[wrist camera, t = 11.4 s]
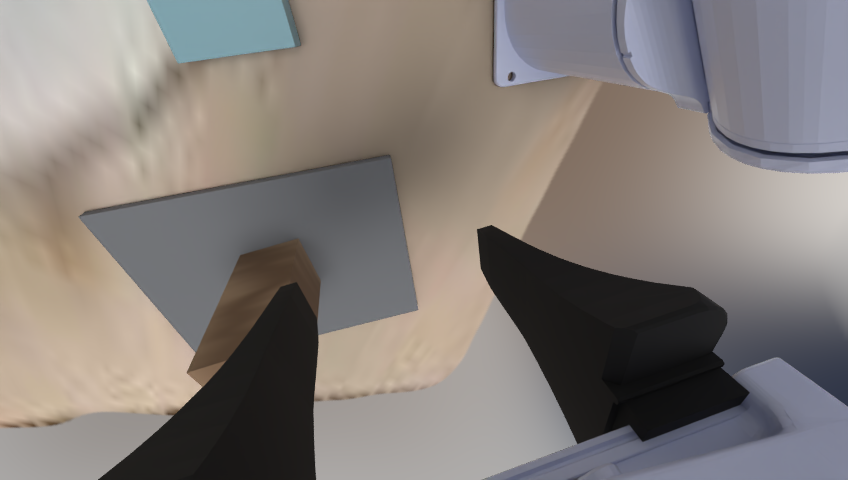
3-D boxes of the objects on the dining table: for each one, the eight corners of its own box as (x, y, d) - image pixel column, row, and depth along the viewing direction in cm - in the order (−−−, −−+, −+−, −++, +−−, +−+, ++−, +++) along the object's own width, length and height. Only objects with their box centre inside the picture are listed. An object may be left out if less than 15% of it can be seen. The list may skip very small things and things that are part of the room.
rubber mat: (389, 154, 20) (390, 157, 20) (416, 305, 28) (418, 309, 28) (85, 211, 18) (78, 216, 18) (207, 357, 26) (204, 363, 26)
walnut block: (298, 238, 21) (276, 344, 14) (320, 280, 24) (312, 390, 16) (240, 255, 21) (186, 372, 14) (268, 296, 23) (235, 415, 16)
